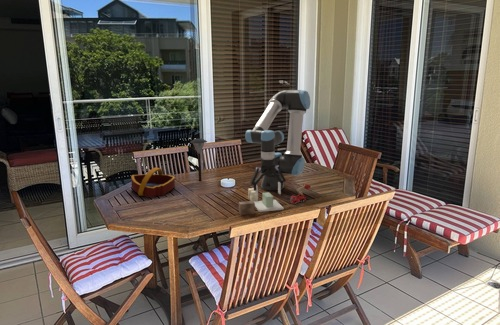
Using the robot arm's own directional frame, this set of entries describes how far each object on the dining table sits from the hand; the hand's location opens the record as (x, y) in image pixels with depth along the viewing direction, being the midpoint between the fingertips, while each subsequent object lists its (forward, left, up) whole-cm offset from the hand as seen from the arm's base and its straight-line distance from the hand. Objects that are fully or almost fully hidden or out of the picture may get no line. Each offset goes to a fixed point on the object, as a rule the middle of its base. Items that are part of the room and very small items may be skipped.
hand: (268, 194), depth 209 cm
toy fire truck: (-3, +21, -7) cm, 22 cm away
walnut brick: (+7, -14, -7) cm, 18 cm away
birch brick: (-14, -5, -7) cm, 16 cm away
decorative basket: (-51, -64, -7) cm, 82 cm away
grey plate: (0, 0, -7) cm, 7 cm away
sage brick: (0, 0, -6) cm, 6 cm away
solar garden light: (-65, -31, -7) cm, 72 cm away
